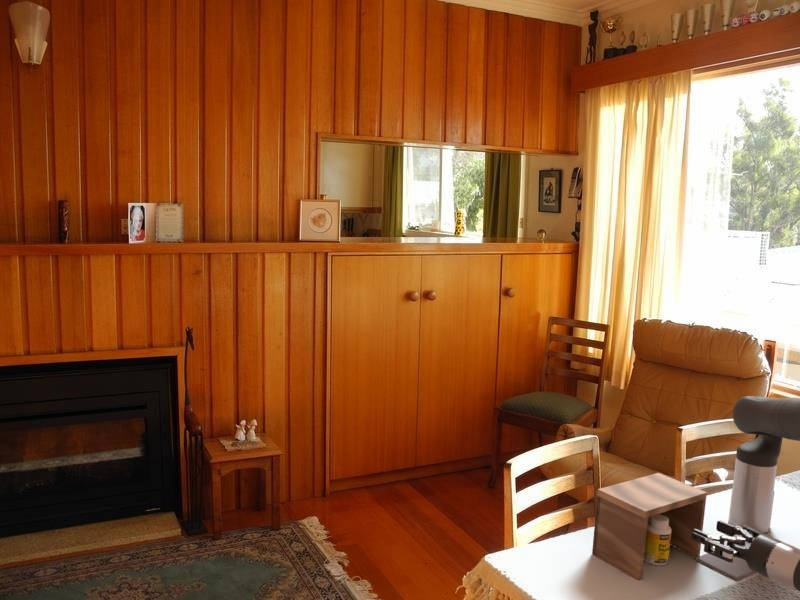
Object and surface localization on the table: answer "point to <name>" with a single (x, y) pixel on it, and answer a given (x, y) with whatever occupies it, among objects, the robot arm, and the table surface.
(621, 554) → the cubby
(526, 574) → the table surface
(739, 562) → the mat
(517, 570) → the table surface
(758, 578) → the table surface
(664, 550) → the supplement bottle
